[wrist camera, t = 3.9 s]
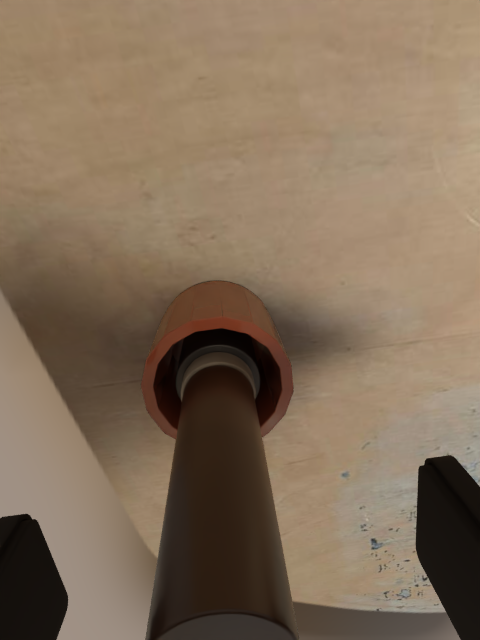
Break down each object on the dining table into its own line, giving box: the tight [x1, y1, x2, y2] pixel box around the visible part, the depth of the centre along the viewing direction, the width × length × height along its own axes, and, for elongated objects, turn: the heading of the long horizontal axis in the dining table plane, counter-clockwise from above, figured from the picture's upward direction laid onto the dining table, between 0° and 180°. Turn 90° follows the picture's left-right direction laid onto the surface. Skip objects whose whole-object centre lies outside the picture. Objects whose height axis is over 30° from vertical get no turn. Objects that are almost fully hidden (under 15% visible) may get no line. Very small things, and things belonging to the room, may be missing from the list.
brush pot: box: [141, 281, 293, 439], centre depth 18 cm, size 6×6×6 cm
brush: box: [145, 328, 299, 640], centre depth 14 cm, size 4×4×15 cm
